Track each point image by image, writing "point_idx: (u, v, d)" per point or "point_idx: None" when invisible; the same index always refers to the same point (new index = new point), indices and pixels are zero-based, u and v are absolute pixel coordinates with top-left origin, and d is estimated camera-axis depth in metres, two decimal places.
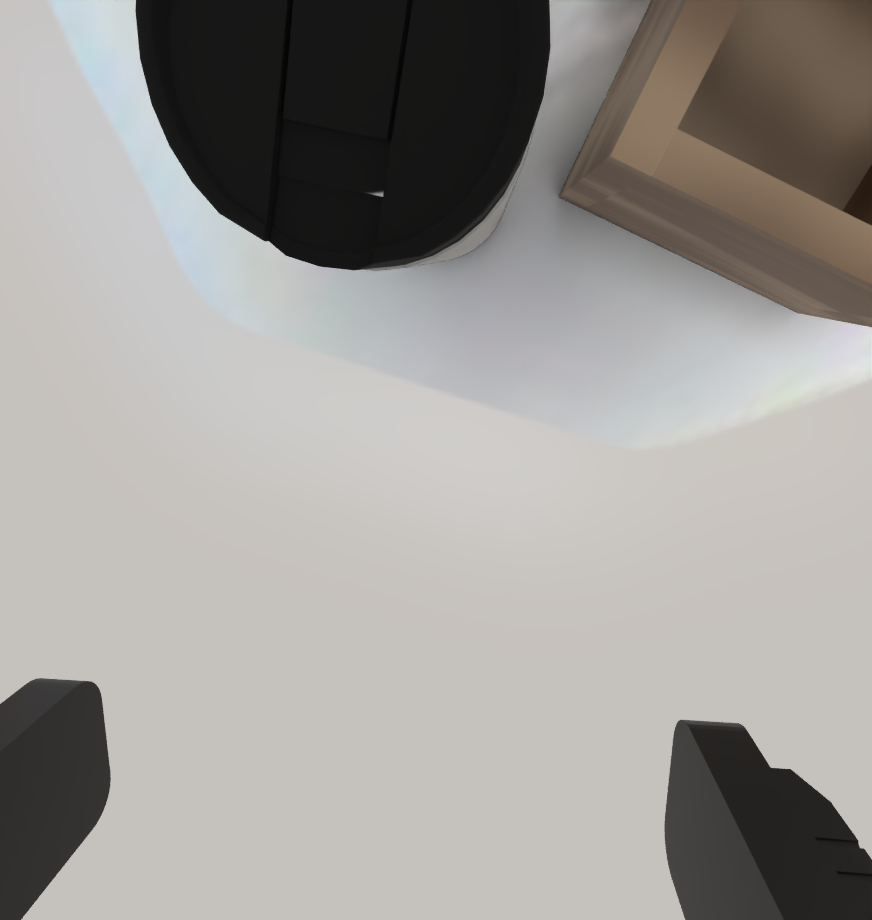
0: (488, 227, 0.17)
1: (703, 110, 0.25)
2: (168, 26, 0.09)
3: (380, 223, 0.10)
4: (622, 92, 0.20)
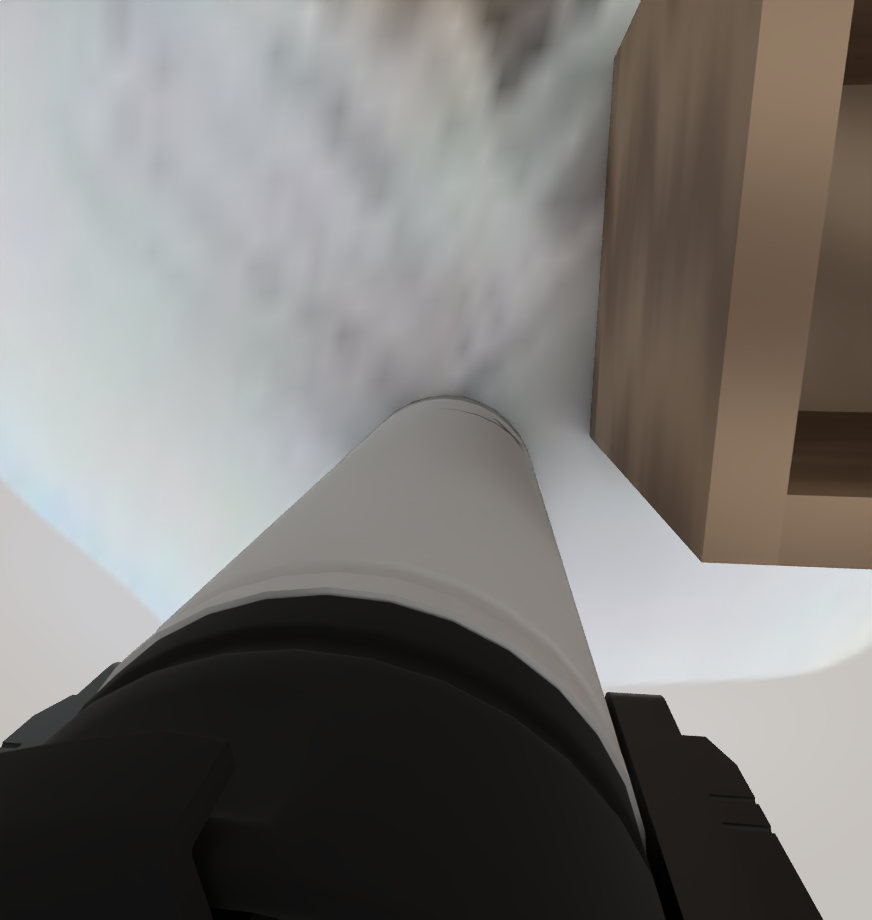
0: None
1: None
2: None
3: None
4: (641, 371, 0.15)
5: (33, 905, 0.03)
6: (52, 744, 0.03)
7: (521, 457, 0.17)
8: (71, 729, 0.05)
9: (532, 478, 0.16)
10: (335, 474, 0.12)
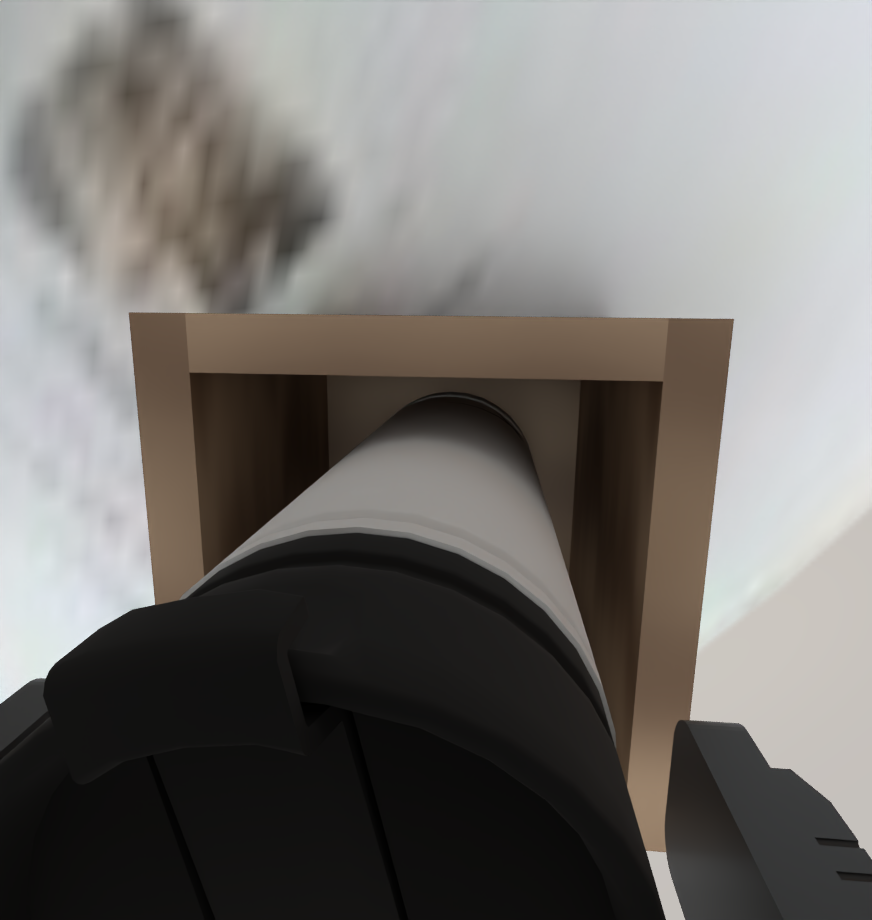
0: None
1: None
2: None
3: None
4: None
5: (184, 685, 0.04)
6: (179, 601, 0.05)
7: (521, 446, 0.18)
8: None
9: (531, 465, 0.17)
10: (353, 454, 0.13)
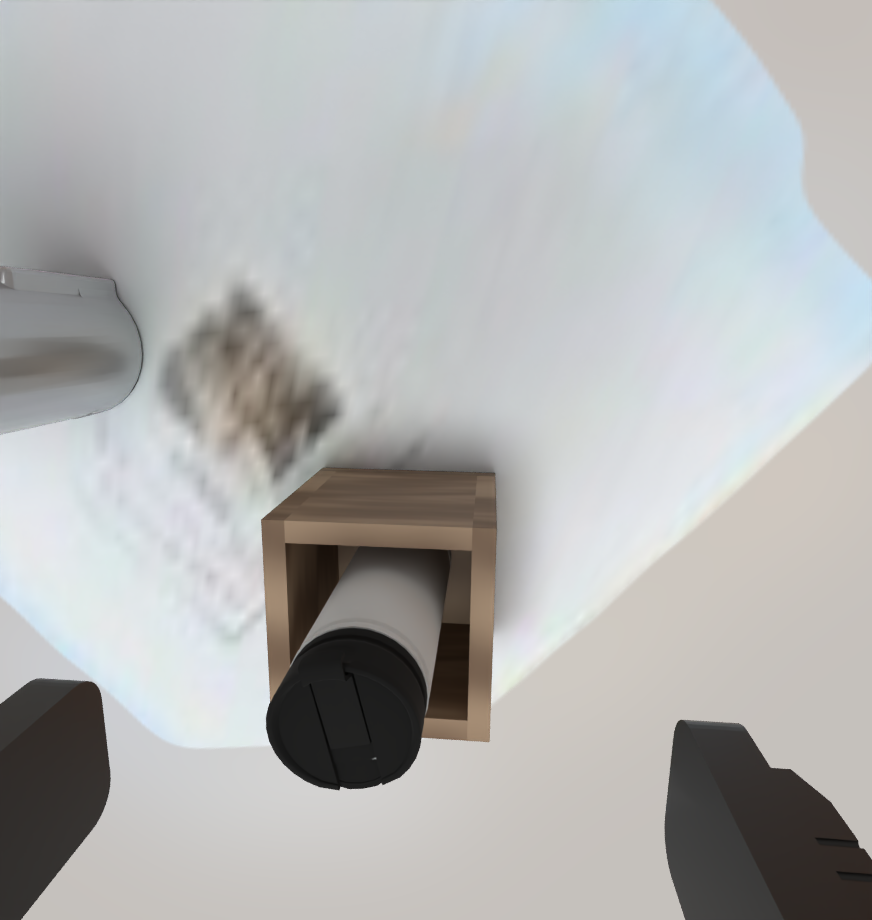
0: None
1: None
2: (280, 737, 0.25)
3: (380, 771, 0.25)
4: None
5: (324, 668, 0.23)
6: (319, 652, 0.24)
7: (435, 555, 0.38)
8: (308, 654, 0.25)
9: (437, 567, 0.36)
10: (352, 577, 0.32)
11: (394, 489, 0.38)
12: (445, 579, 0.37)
